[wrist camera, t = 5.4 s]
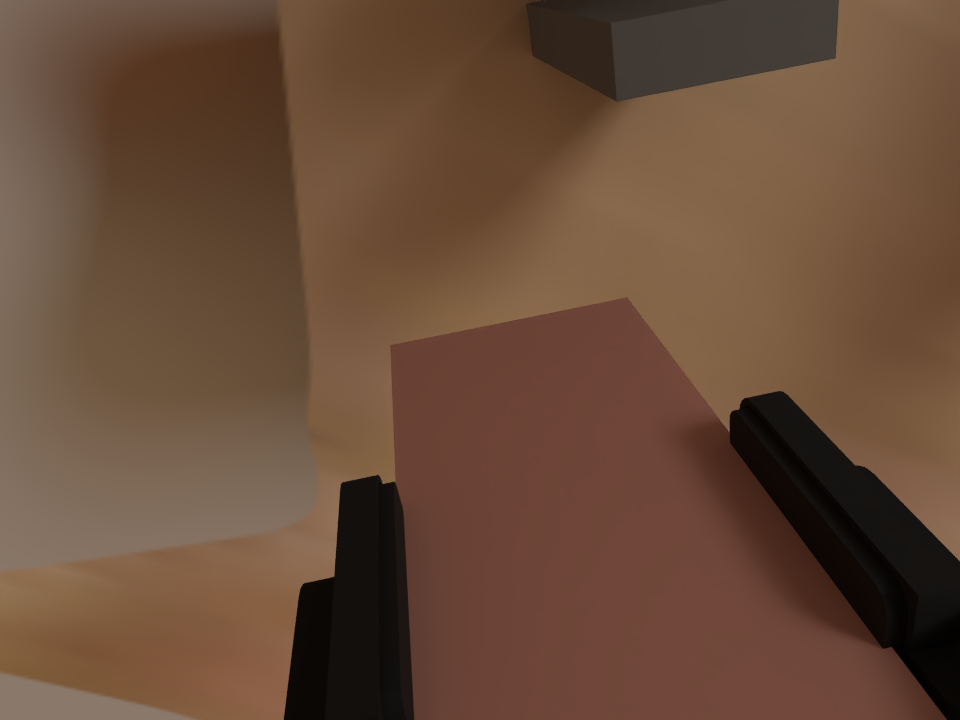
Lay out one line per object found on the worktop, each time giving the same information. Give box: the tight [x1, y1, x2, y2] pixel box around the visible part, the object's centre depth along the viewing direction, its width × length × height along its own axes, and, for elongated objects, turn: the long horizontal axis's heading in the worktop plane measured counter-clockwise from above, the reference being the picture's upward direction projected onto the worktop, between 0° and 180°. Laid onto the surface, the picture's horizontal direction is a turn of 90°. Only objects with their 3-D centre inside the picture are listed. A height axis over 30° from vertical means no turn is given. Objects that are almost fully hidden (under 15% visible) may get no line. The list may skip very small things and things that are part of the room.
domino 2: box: [391, 298, 947, 720], centre depth 12 cm, size 2×5×10 cm, turn 99°
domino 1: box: [527, 0, 839, 101], centre depth 21 cm, size 2×5×10 cm, turn 99°
